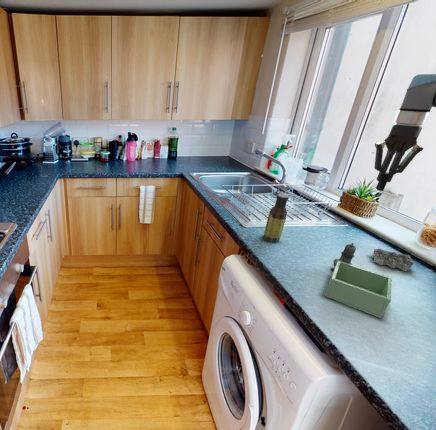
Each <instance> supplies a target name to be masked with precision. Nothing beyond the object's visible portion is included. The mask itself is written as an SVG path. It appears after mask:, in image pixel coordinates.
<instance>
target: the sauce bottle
mask: <svg viewBox="0 0 436 430" xmlns="http://www.w3.org/2000/svg"><path fill="white" fill-rule="evenodd" d="M288 201H289V195H288V194H284V193H278V194H277V195H276V201H275V204H274V205H273V206H272V207H271V208H270V210H269V213H268V217H267V220H266V224H265V227H264V231H263V239H265V240H266V241H267V242H271V243H278V242H279V241H280V238H281V236H282V234H283V230H284V226H285V223H286V220H287V215H288V210H287V208H286V206H287V204H288V203H287V202H288Z"/></svg>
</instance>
